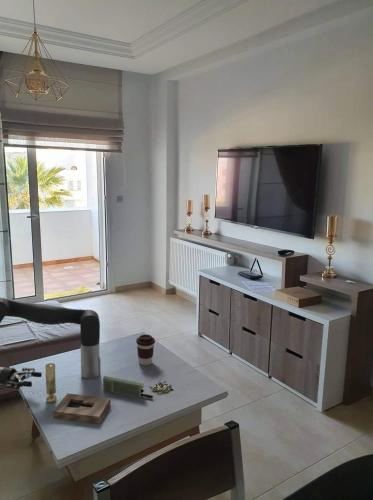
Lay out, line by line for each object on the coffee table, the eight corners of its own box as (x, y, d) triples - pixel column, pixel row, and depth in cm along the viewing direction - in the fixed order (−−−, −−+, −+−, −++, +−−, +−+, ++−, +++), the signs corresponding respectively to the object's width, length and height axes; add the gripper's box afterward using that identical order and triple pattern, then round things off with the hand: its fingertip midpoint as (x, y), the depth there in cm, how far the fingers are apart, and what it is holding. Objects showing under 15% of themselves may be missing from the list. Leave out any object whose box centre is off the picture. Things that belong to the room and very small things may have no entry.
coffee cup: (144, 356, 225) (144, 331, 222) (158, 362, 220) (158, 336, 217) (132, 363, 217) (132, 337, 215) (146, 368, 212) (146, 342, 209)
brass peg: (56, 397, 183) (55, 362, 180) (56, 402, 179) (55, 366, 176) (45, 398, 181) (44, 363, 178) (46, 403, 177) (45, 368, 174)
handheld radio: (106, 387, 193) (154, 397, 185) (102, 391, 190) (151, 401, 182) (105, 374, 191) (154, 384, 184) (102, 378, 188) (151, 388, 181)
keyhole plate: (53, 418, 167) (52, 411, 166) (67, 399, 181) (67, 393, 180) (99, 423, 164) (99, 416, 164) (110, 404, 178) (110, 398, 177)
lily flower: (144, 387, 195) (144, 378, 194) (165, 380, 201) (165, 372, 201) (157, 398, 185) (157, 389, 184) (178, 391, 192) (179, 382, 191)
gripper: (-8, 375, 174) (27, 379, 171) (11, 361, 188) (44, 364, 185) (-7, 391, 175) (28, 395, 173) (12, 375, 189) (44, 379, 187)
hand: (36, 379), depth 179 cm, fingers open, 8 cm apart
